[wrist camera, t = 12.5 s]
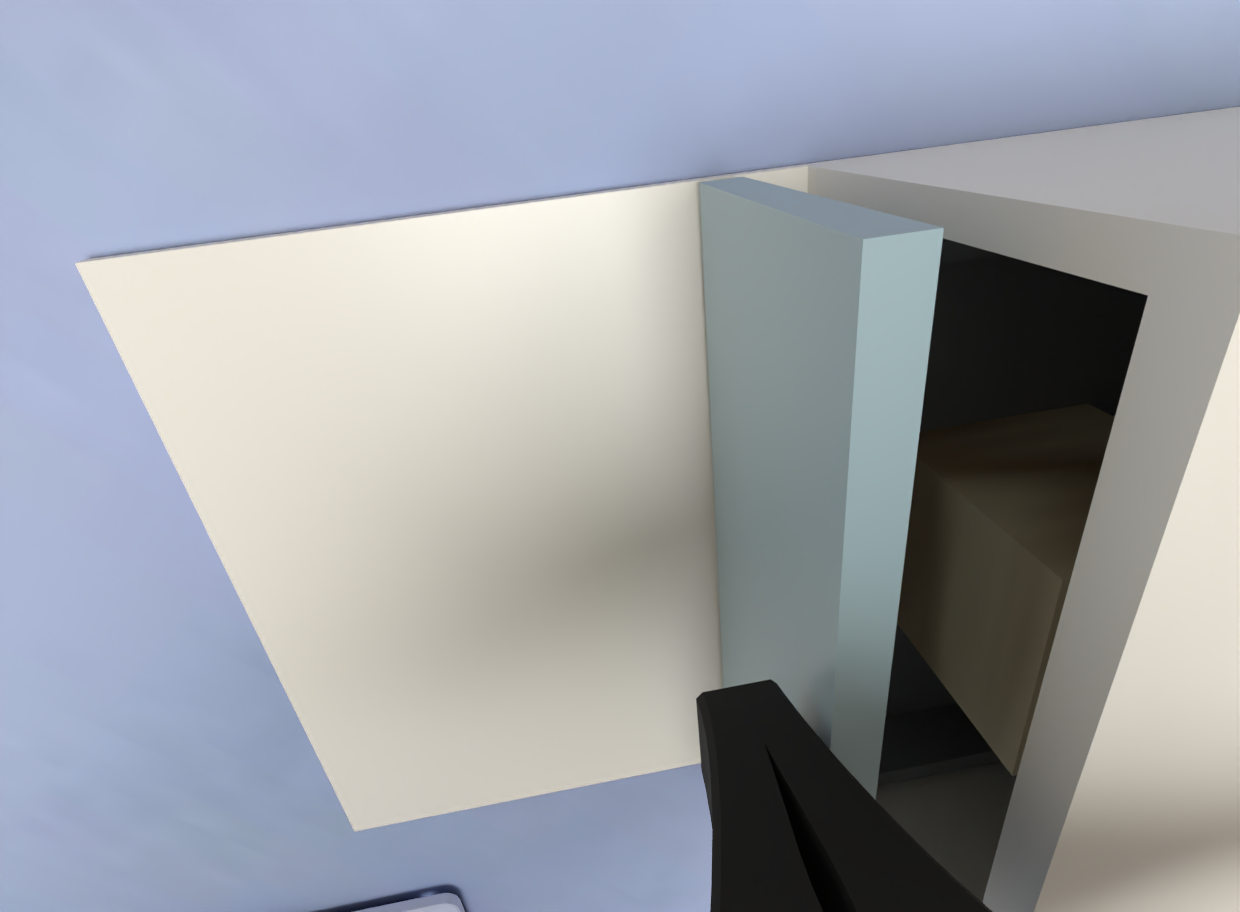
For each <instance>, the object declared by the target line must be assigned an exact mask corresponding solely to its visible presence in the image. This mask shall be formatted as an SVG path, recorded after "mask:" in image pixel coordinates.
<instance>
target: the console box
mask: <svg viewBox="0 0 1240 912" xmlns="http://www.w3.org/2000/svg"><path fill="white" fill-rule="evenodd" d="M736 177H746V178H750V179H754V180H758V181H762V182H766V183H770V184H774V185H778V186H782V187H786V188H789V189H793V190H797V191H801V192H805V193H809V194H813V195H817V196H821V197H825V198H829V199H833V200H837V201H841V202H845V203H848V204H852V205H856V206H860V207H864V208H868V209H872V210H876V211H880V212H884V213H888V214H892V215H896V216H900V217H904V218H907V219H911V220H915V221H919V222H923V223H927V224H931V225H935V226H939V227H943V228H944V232H943V238H944V239H948V240H951V241H955V242H958V243H962V244H965V245H969V246H973V247H976V248H980V249H983V250H987V251H991V252H994V253H998V254H1001V255H1005V256H1008V257H1012V258H1016V259H1019V260H1023V261H1026V262H1030V263H1033V264H1037V265H1041V266H1044V267H1048V268H1051V269H1055V270H1059V271H1062V272H1066V273H1069V274H1073V275H1076V276H1080V277H1084V278H1087V279H1091V280H1094V281H1098V282H1101V283H1105V284H1109V285H1112V286H1116V287H1119V288H1123V289H1127V290H1130V291H1134V292H1137V293H1141V294H1144V295H1148V298H1147V301H1146V305H1145V309H1144V312H1143V316H1142V320H1141V323H1140V327H1139V331H1138V334H1137V338H1136V342H1135V345H1134V349H1133V353H1132V356H1131V360H1130V364H1129V367H1128V371H1127V375H1126V378H1125V382H1124V386H1123V389H1122V393H1121V397H1120V400H1119V404H1118V407H1117V411H1116V415H1115V418H1114V422H1113V426H1112V429H1111V433H1110V437H1109V440H1108V444H1107V448H1106V451H1105V455H1104V459H1103V462H1102V466H1101V470H1100V473H1099V477H1098V481H1097V484H1096V488H1095V492H1094V495H1093V499H1092V503H1091V506H1090V510H1089V514H1088V517H1087V521H1086V525H1085V528H1084V532H1083V536H1082V539H1081V543H1080V547H1079V550H1078V554H1077V558H1076V561H1075V565H1074V569H1073V572H1072V576H1071V580H1070V583H1069V587H1068V591H1067V594H1066V598H1065V602H1064V605H1063V609H1062V613H1061V616H1060V620H1059V624H1058V627H1057V631H1056V635H1055V638H1054V642H1053V646H1052V649H1051V653H1050V656H1049V660H1048V664H1047V667H1046V671H1045V675H1044V678H1043V682H1042V686H1041V689H1040V693H1039V697H1038V700H1037V704H1036V708H1035V711H1034V715H1033V719H1032V722H1031V726H1030V730H1029V733H1028V737H1027V741H1026V744H1025V748H1024V752H1023V755H1022V759H1021V763H1020V766H1019V770H1018V774H1017V775H1013V776H1012V775H1011V774H1010V773H1009V771H1008V770H1007V769H1006V767H1005V766H1004V765H1003V763H1002V762H1001V761H1000V762H995V763H990V764H985V765H980V766H975V767H971V768H966V769H961V770H956V771H951V772H946V773H941V774H936V775H931V776H927V777H922V778H917V779H912V780H907V781H902V782H897V783H892V784H888V785H883V786H878V787H877V792H876V801H877V802H878V803H879V804H880V805H881V806H882V807H883V808H884V809H885V810H886V811H887V813H888V814H889V815H890V816H891V817H892V818H893V819H894V820H895V821H896V822H897V823H898V824H899V825H900V826H901V827H902V828H903V829H904V830H905V831H906V832H907V833H908V834H909V835H910V836H911V837H912V838H913V839H914V840H915V841H916V842H917V843H918V844H919V845H920V846H921V847H923V848H924V849H925V850H926V851H927V852H928V853H929V854H930V855H931V856H932V857H933V858H934V859H935V860H936V861H937V862H938V863H939V864H940V865H941V866H942V867H944V868H945V869H946V870H947V871H948V872H949V873H950V874H951V875H952V876H953V877H954V878H955V879H956V880H958V881H959V882H960V883H961V884H962V885H963V886H964V887H965V888H967V889H968V890H969V891H970V892H971V893H972V894H973V895H974V896H976V897H977V898H978V899H979V900H980V901H981V902H982V903H983V904H985V905H986V906H987V907H988V908H989V909H990V910H991V911H992V912H1240V106H1239V107H1232V108H1224V109H1217V110H1209V111H1202V112H1194V113H1187V114H1179V115H1171V116H1164V117H1156V118H1149V119H1141V120H1134V121H1126V122H1119V123H1111V124H1103V125H1096V126H1088V127H1081V128H1073V129H1066V130H1058V131H1050V132H1043V133H1035V134H1028V135H1020V136H1013V137H1005V138H998V139H990V140H982V141H975V142H967V143H960V144H952V145H945V146H937V147H930V148H922V149H914V150H907V151H899V152H892V153H884V154H877V155H869V156H862V157H854V158H846V159H839V160H831V161H824V162H816V163H809V164H801V165H794V166H786V167H778V168H771V169H763V170H756V171H748V172H741V173H733V174H726V175H718V176H710V177H703V178H695V179H688V180H680V181H673V182H665V183H658V184H650V185H642V186H635V187H627V188H620V189H612V190H605V191H597V192H590V193H582V194H574V195H567V196H559V197H552V198H544V199H537V200H529V201H522V202H514V203H506V204H499V205H491V206H484V207H476V208H469V209H461V210H454V211H446V212H438V213H431V214H423V215H416V216H408V217H401V218H393V219H386V220H378V221H370V222H363V223H355V224H348V225H340V226H333V227H325V228H318V229H310V230H302V231H295V232H287V233H280V234H272V235H265V236H257V237H250V238H242V239H234V240H227V241H219V242H212V243H204V244H197V245H189V246H181V247H174V248H166V249H159V250H151V251H144V252H136V253H129V254H121V255H113V256H106V257H98V258H91V259H86V260H83V261H80V262H77V263H75V264H76V266H77V268H78V270H79V272H80V274H81V276H82V278H83V280H84V282H85V284H86V287H87V289H88V291H89V293H90V295H91V297H92V299H93V301H94V303H95V305H96V307H97V309H98V311H99V313H100V315H101V317H102V319H103V321H104V323H105V325H106V327H107V329H108V331H109V333H110V335H111V337H112V339H113V341H114V343H115V346H116V348H117V350H118V352H119V354H120V356H121V358H122V360H123V362H124V364H125V366H126V368H127V370H128V372H129V374H130V376H131V378H132V380H133V382H134V384H135V386H136V388H137V390H138V392H139V394H140V396H141V398H142V400H143V402H144V404H145V407H146V409H147V411H148V413H149V415H150V417H151V419H152V421H153V423H154V425H155V427H156V429H157V431H158V433H159V435H160V437H161V439H162V441H163V443H164V445H165V447H166V449H167V451H168V453H169V455H170V457H171V459H172V461H173V463H174V465H175V468H176V470H177V472H178V474H179V476H180V478H181V480H182V482H183V484H184V486H185V488H186V490H187V492H188V494H189V496H190V498H191V500H192V502H193V504H194V506H195V508H196V510H197V512H198V514H199V516H200V518H201V520H202V522H203V524H204V527H205V529H206V531H207V533H208V535H209V537H210V539H211V541H212V543H213V545H214V547H215V549H216V551H217V553H218V555H219V557H220V559H221V561H222V563H223V565H224V567H225V569H226V571H227V573H228V575H229V577H230V579H231V581H232V583H233V585H234V588H235V590H236V592H237V594H238V596H239V598H240V600H241V602H242V604H243V606H244V608H245V610H246V612H247V614H248V616H249V618H250V620H251V622H252V624H253V626H254V628H255V630H256V632H257V634H258V636H259V638H260V640H261V642H262V644H263V647H264V649H265V651H266V653H267V655H268V657H269V659H270V661H271V663H272V665H273V667H274V669H275V671H276V673H277V675H278V677H279V679H280V681H281V683H282V685H283V687H284V689H285V691H286V693H287V695H288V697H289V699H290V701H291V703H292V705H293V708H294V710H295V712H296V714H297V716H298V718H299V720H300V722H301V724H302V726H303V728H304V730H305V732H306V734H307V736H308V738H309V740H310V742H311V744H312V746H313V748H314V750H315V752H316V754H317V756H318V758H319V760H320V762H321V764H322V767H323V769H324V771H325V773H326V775H327V777H328V779H329V781H330V783H331V785H332V787H333V789H334V791H335V793H336V795H337V797H338V799H339V801H340V803H341V805H342V807H343V809H344V811H345V813H346V815H347V817H348V819H349V821H350V823H351V825H352V828H353V830H354V832H355V831H360V830H365V829H370V828H375V827H380V826H385V825H390V824H395V823H401V822H406V821H411V820H416V819H421V818H426V817H431V816H436V815H441V814H446V813H451V812H456V811H461V810H466V809H471V808H476V807H481V806H486V805H491V804H496V803H501V802H507V801H512V800H517V799H522V798H527V797H532V796H537V795H542V794H547V793H552V792H557V791H562V790H567V789H572V788H577V787H582V786H587V785H592V784H597V783H602V782H608V781H613V780H618V779H623V778H628V777H633V776H638V775H643V774H648V773H653V772H658V771H663V770H668V769H673V768H678V767H683V766H688V765H693V764H698V763H701V755H700V742H699V729H698V717H697V704H696V698H697V697H698V696H699V695H700V694H701V693H702V692H706V691H712V690H717V689H722V688H723V671H722V650H721V629H720V608H719V588H718V567H717V546H716V525H715V504H714V483H713V462H712V441H711V420H710V399H709V378H708V357H707V336H706V315H705V295H704V274H703V253H702V232H701V211H700V190H699V182H706V181H713V180H721V179H728V178H736Z"/></svg>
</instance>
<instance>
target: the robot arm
mask: <svg viewBox="0 0 1240 912" xmlns="http://www.w3.org/2000/svg"><path fill="white" fill-rule="evenodd" d="M696 704H697V717H698V729H699V742H700V755H701V767H702V774H703V778H704V783H705V787H706V792H707V798H708V804H709V809H710V815H711V822H712V829H713V839H712V890H711V911H710V912H992V911H991V910H990V909H989V908H988V907H987V906H986V905H985V904H983V903H982V902H981V901H980V900H979V899H978V898H977V897H976V896H974V895H973V894H972V893H971V892H970V891H969V890H968V889H967V888H965V887H964V886H963V885H962V884H961V883H960V882H959V881H958V880H956V879H955V878H954V877H953V876H952V875H951V874H950V873H949V872H948V871H947V870H946V869H945V868H944V867H942V866H941V865H940V864H939V863H938V862H937V861H936V860H935V859H934V858H933V857H932V856H931V855H930V854H929V853H928V852H927V851H926V850H925V849H924V848H923V847H921V846H920V845H919V844H918V843H917V842H916V841H915V840H914V839H913V838H912V837H911V836H910V835H909V834H908V833H907V832H906V831H905V830H904V829H903V828H902V827H901V826H900V825H899V824H898V823H897V822H896V821H895V820H894V819H893V818H892V817H891V816H890V815H889V814H888V813H887V811H886V810H885V809H884V808H883V807H882V806H881V805H880V804H879V803H878V802H877V801H876V800H875V799H874V798H873V797H872V796H871V795H870V794H869V792H868V791H867V790H866V789H865V788H864V787H863V786H862V785H861V784H860V783H859V782H858V781H857V779H856V778H855V777H854V776H853V775H852V774H851V773H850V772H849V771H848V770H847V769H846V767H845V766H844V765H843V764H842V763H841V762H840V761H839V760H838V758H837V757H836V756H835V755H834V754H833V753H832V752H831V750H830V749H829V748H828V747H827V746H826V745H825V743H824V742H823V741H822V740H821V739H820V737H819V736H818V735H817V734H816V733H815V732H814V730H813V729H812V728H811V727H810V726H809V724H808V723H807V722H806V721H805V719H804V718H803V717H802V716H801V714H800V713H799V712H798V711H797V709H796V708H795V707H794V706H793V704H792V703H791V702H790V700H789V699H788V698H787V696H786V695H785V694H784V692H783V691H782V690H781V688H780V687H779V686H778V684H777V683H776V682H774V681H772V680H771V679H769V680H764V681H759V682H753V683H748V684H743V685H738V686H733V687H727V688H722V689H717V690H712V691H706V692H702V693H701V694H700V695H699V696H698V697H697V698H696ZM353 912H465V910H464V908H463V905H462V903H461V900H460V899H459V897H458V896H457V895H455V894H452V893H440V894H435V895H430V896H426V897H421V898H416V899H411V900H406V901H401V902H397V903H392V904H387V905H382V906H377V907H372V908H368V909H363V910H358V911H353Z"/></svg>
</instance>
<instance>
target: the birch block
mask: <svg viewBox="0 0 1240 912" xmlns="http://www.w3.org/2000/svg"><path fill="white" fill-rule="evenodd" d="M1114 418H1115V417H1114V416H1112V415H1110V414H1108V413H1106V412H1104V411H1102V410H1100V409H1098V408H1096V407H1094V406H1092V405H1090V404H1088V403H1087V404H1081V405H1075V406H1069V407H1063V408H1057V409H1052V410H1046V411H1040V412H1034V413H1028V414H1022V415H1016V416H1010V417H1005V418H999V419H993V420H987V421H981V422H975V423H969V424H963V425H957V426H952V427H946V428H940V429H934V430H928V431H922V432H920V433H919V441H918V450H917V458H916V466H915V475H914V483H913V491H912V500H911V508H910V516H909V525H908V533H907V542H906V550H905V558H904V567H903V575H902V583H901V592H900V600H899V608H898V617H897V624H898V625H899V626H900V628H901V629H902V630H903V632H904V633H905V634H906V636H907V637H908V638H909V640H910V641H911V642H912V644H913V645H914V646H915V648H916V649H917V650H918V652H919V653H920V654H921V656H922V657H923V658H924V660H925V661H926V662H927V664H928V665H929V666H930V668H931V669H932V670H933V672H934V673H935V674H936V676H937V677H938V678H939V680H940V681H941V682H942V684H943V685H944V686H945V688H946V689H947V690H948V692H949V693H950V694H951V696H952V697H953V698H954V700H955V701H956V702H957V704H958V705H959V706H960V708H961V709H962V710H963V711H964V713H965V714H966V715H967V717H968V718H969V719H970V721H971V722H972V723H973V725H974V726H975V727H976V729H977V730H978V731H979V733H980V734H981V735H982V737H983V738H984V739H985V741H986V742H987V743H988V745H989V746H990V747H991V749H992V750H993V751H994V753H995V754H996V755H997V757H998V758H999V759H1000V761H1001V762H1002V763H1003V765H1004V766H1005V767H1006V769H1007V770H1008V771H1009V773H1010V774H1011V775H1012V776H1013V775H1017V774H1018V770H1019V766H1020V763H1021V759H1022V755H1023V752H1024V748H1025V744H1026V741H1027V737H1028V733H1029V730H1030V726H1031V722H1032V719H1033V715H1034V711H1035V708H1036V704H1037V700H1038V697H1039V693H1040V689H1041V686H1042V682H1043V678H1044V675H1045V671H1046V667H1047V664H1048V660H1049V656H1050V653H1051V649H1052V646H1053V642H1054V638H1055V635H1056V631H1057V627H1058V624H1059V620H1060V616H1061V613H1062V609H1063V605H1064V602H1065V598H1066V594H1067V591H1068V587H1069V583H1070V580H1071V576H1072V572H1073V569H1074V565H1075V561H1076V558H1077V554H1078V550H1079V547H1080V543H1081V539H1082V536H1083V532H1084V528H1085V525H1086V521H1087V517H1088V514H1089V510H1090V506H1091V503H1092V499H1093V495H1094V492H1095V488H1096V484H1097V481H1098V477H1099V473H1100V470H1101V466H1102V462H1103V459H1104V455H1105V451H1106V448H1107V444H1108V440H1109V437H1110V433H1111V429H1112V426H1113V422H1114Z"/></svg>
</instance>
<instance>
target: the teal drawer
mask: <svg viewBox="0 0 1240 912" xmlns="http://www.w3.org/2000/svg"><path fill="white" fill-rule="evenodd" d="M699 190H700V211H701V232H702V253H703V274H704V295H705V315H706V336H707V357H708V378H709V399H710V420H711V441H712V462H713V483H714V504H715V525H716V546H717V567H718V588H719V608H720V629H721V650H722V671H723V688H727V687H733V686H738V685H743V684H748V683H753V682H759V681H764V680H769V679H771V680H772V681H774V682H776V683H777V684H778V686H779V687H780V688H781V690H782V691H783V692H784V694H785V695H786V696H787V698H788V699H789V700H790V702H791V703H792V704H793V706H794V707H795V708H796V709H797V711H798V712H799V713H800V714H801V716H802V717H803V718H804V719H805V721H806V722H807V723H808V724H809V726H810V727H811V728H812V729H813V730H814V732H815V733H816V734H817V735H818V736H819V737H820V739H821V740H822V741H823V742H824V743H825V745H826V746H827V747H828V748H829V749H830V750H831V752H832V753H833V754H834V755H835V756H836V757H837V758H838V760H839V761H840V762H841V763H842V764H843V765H844V766H845V767H846V769H847V770H848V771H849V772H850V773H851V774H852V775H853V776H854V777H855V778H856V779H857V781H858V782H859V783H860V784H861V785H862V786H863V787H864V788H865V789H866V790H867V791H868V792H869V794H870V795H871V796H872V797H873V798H874V799H875V800H876V792H877V787H878V786H883V785H888V784H892V783H897V782H902V781H907V780H912V779H917V778H922V777H927V776H931V775H936V774H941V773H946V772H951V771H956V770H961V769H966V768H971V767H975V766H980V765H985V764H990V763H995V762H1000V759H999V758H998V757H997V755H996V754H995V753H994V751H993V750H992V749H991V747H990V746H989V745H988V743H987V742H986V741H985V739H984V738H983V737H982V735H981V734H980V733H979V731H978V730H977V729H976V727H975V726H974V725H973V723H972V722H971V721H970V719H969V718H968V717H967V715H966V714H965V713H964V711H963V710H962V709H961V708H960V706H959V705H958V704H957V702H956V701H955V700H954V698H953V697H952V696H951V694H950V693H949V692H948V690H947V689H946V688H945V686H944V685H943V684H942V682H941V681H940V680H939V678H938V677H937V676H936V674H935V673H934V672H933V670H932V669H931V668H930V666H929V665H928V664H927V662H926V661H925V660H924V658H923V657H922V656H921V654H920V653H919V652H918V650H917V649H916V648H915V646H914V645H913V644H912V642H911V641H910V640H909V638H908V637H907V636H906V634H905V633H904V632H903V630H902V629H901V628H900V626H899V625H898V624H897V617H898V608H899V600H900V592H901V583H902V575H903V567H904V558H905V550H906V542H907V533H908V525H909V516H910V508H911V500H912V491H913V483H914V475H915V466H916V458H917V450H918V441H919V433H920V432H922V431H928V430H934V429H940V428H946V427H952V426H957V425H963V424H969V423H975V422H981V421H987V420H993V419H999V418H1005V417H1010V416H1016V415H1022V414H1028V413H1034V412H1040V411H1046V410H1052V409H1057V408H1063V407H1069V406H1075V405H1081V404H1087V403H1088V404H1090V405H1092V406H1094V407H1096V408H1098V409H1100V410H1102V411H1104V412H1106V413H1108V414H1110V415H1112V416H1114V417H1115V415H1116V411H1117V407H1118V404H1119V400H1120V397H1121V393H1122V389H1123V386H1124V382H1125V378H1126V375H1127V371H1128V367H1129V364H1130V360H1131V356H1132V353H1133V349H1134V345H1135V342H1136V338H1137V334H1138V331H1139V327H1140V323H1141V320H1142V316H1143V312H1144V309H1145V305H1146V301H1147V298H1148V295H1144V294H1141V293H1137V292H1134V291H1130V290H1127V289H1123V288H1119V287H1116V286H1112V285H1109V284H1105V283H1101V282H1098V281H1094V280H1091V279H1087V278H1084V277H1080V276H1076V275H1073V274H1069V273H1066V272H1062V271H1059V270H1055V269H1051V268H1048V267H1044V266H1041V265H1037V264H1033V263H1030V262H1026V261H1023V260H1019V259H1016V258H1012V257H1008V256H1005V255H1001V254H998V253H994V252H991V251H987V250H983V249H980V248H976V247H973V246H969V245H965V244H962V243H958V242H955V241H951V240H948V239H944V238H943V232H944V228H943V227H939V226H935V225H931V224H927V223H923V222H919V221H915V220H911V219H907V218H904V217H900V216H896V215H892V214H888V213H884V212H880V211H876V210H872V209H868V208H864V207H860V206H856V205H852V204H848V203H845V202H841V201H837V200H833V199H829V198H825V197H821V196H817V195H813V194H809V193H805V192H801V191H797V190H793V189H789V188H786V187H782V186H778V185H774V184H770V183H766V182H762V181H758V180H754V179H750V178H746V177H736V178H728V179H721V180H713V181H706V182H699Z"/></svg>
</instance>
